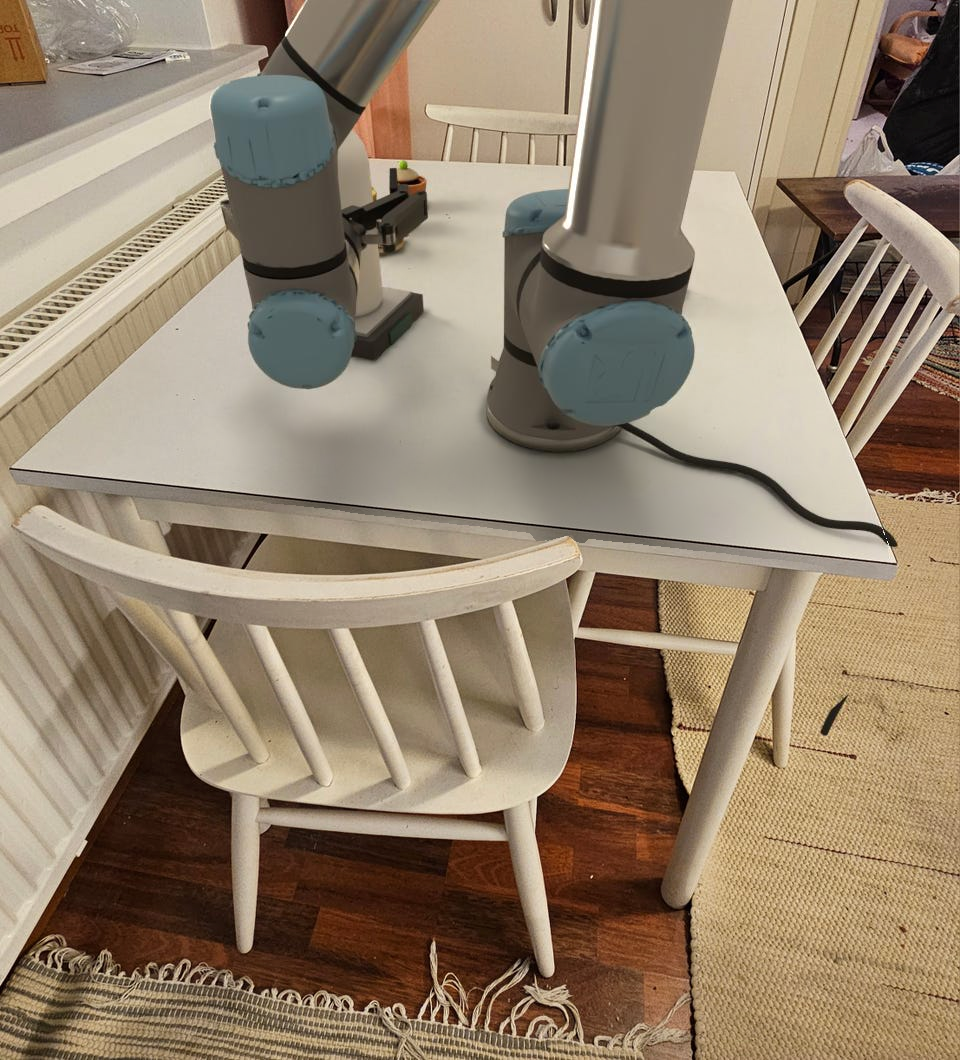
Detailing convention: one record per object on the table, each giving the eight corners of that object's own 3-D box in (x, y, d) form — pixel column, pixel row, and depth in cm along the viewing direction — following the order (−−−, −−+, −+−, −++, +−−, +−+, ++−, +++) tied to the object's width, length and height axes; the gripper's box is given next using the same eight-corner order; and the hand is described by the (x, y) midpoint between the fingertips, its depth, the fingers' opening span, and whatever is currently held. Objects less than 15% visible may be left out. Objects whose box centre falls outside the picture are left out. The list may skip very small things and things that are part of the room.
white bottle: (323, 325, 93) (276, 38, 72) (309, 296, 99) (261, 24, 79) (392, 312, 95) (364, 31, 75) (373, 284, 101) (343, 18, 81)
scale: (425, 311, 102) (423, 290, 100) (376, 360, 92) (373, 338, 90) (334, 295, 106) (331, 274, 104) (278, 340, 96) (274, 319, 94)
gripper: (458, 214, 63) (445, 141, 79) (155, 227, 62) (203, 151, 77) (460, 298, 68) (448, 214, 84) (181, 313, 67) (221, 224, 82)
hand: (330, 183), depth 80 cm, fingers open, 13 cm apart
